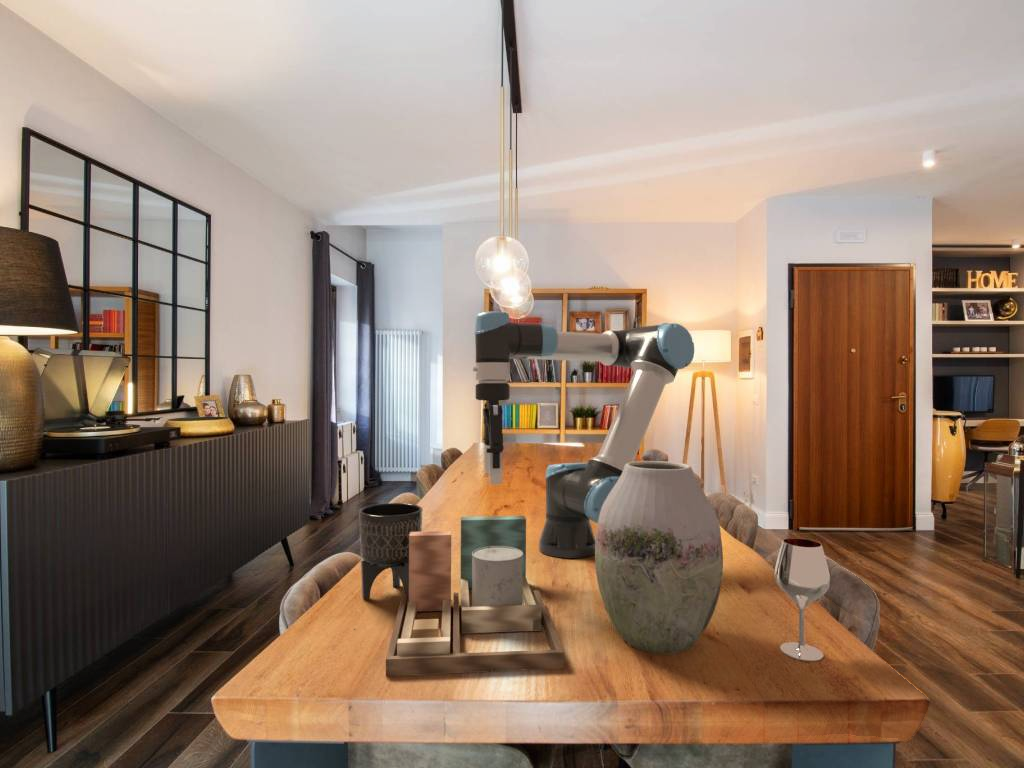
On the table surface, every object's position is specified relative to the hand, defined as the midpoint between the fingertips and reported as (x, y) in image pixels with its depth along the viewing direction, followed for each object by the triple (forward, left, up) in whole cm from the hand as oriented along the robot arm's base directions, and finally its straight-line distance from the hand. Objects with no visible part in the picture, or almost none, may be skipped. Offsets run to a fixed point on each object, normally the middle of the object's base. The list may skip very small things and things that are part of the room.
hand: (492, 478), depth 128 cm
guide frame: (+5, +26, -23) cm, 35 cm away
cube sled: (+13, +25, -23) cm, 37 cm away
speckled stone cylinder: (0, +20, -23) cm, 31 cm away
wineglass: (-48, +38, -23) cm, 66 cm away
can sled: (0, +13, -23) cm, 27 cm away
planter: (+22, +6, -23) cm, 32 cm away
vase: (-26, +31, -23) cm, 47 cm away
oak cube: (+13, +31, -23) cm, 41 cm away
